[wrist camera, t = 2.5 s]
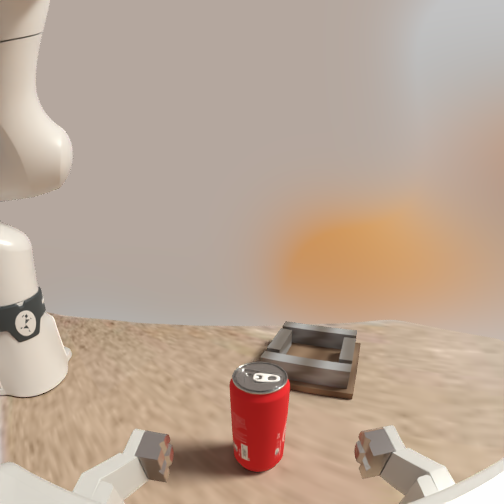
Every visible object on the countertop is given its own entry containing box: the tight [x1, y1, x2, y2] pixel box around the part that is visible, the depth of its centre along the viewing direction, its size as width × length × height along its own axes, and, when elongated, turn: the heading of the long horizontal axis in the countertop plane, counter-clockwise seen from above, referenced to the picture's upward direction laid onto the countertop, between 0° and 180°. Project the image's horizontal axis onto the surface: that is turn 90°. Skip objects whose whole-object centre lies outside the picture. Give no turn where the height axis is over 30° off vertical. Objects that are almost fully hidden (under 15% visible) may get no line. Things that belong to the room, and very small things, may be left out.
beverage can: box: [230, 362, 290, 472], centre depth 24 cm, size 5×5×12 cm
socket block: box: [260, 322, 360, 399], centre depth 44 cm, size 15×15×4 cm
